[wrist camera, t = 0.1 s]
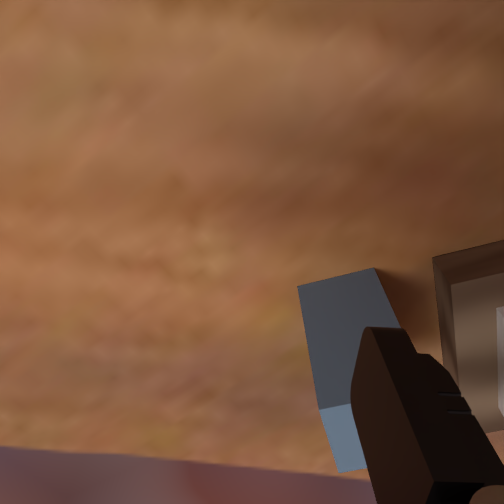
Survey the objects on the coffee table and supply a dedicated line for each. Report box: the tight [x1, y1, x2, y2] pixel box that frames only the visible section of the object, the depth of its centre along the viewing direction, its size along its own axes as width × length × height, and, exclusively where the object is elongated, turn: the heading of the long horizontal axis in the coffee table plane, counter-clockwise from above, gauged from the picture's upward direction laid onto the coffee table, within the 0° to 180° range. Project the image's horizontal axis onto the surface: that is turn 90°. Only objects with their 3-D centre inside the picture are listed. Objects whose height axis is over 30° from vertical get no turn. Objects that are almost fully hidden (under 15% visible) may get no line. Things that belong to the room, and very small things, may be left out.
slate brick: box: [297, 268, 401, 473], centre depth 26 cm, size 5×5×10 cm
